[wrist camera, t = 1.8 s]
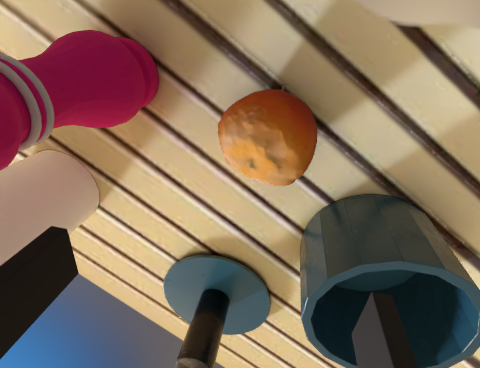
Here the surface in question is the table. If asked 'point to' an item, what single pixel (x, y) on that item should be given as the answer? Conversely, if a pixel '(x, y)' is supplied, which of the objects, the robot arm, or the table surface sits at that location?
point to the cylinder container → (43, 198)
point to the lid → (213, 304)
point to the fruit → (269, 136)
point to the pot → (385, 280)
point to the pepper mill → (72, 88)
